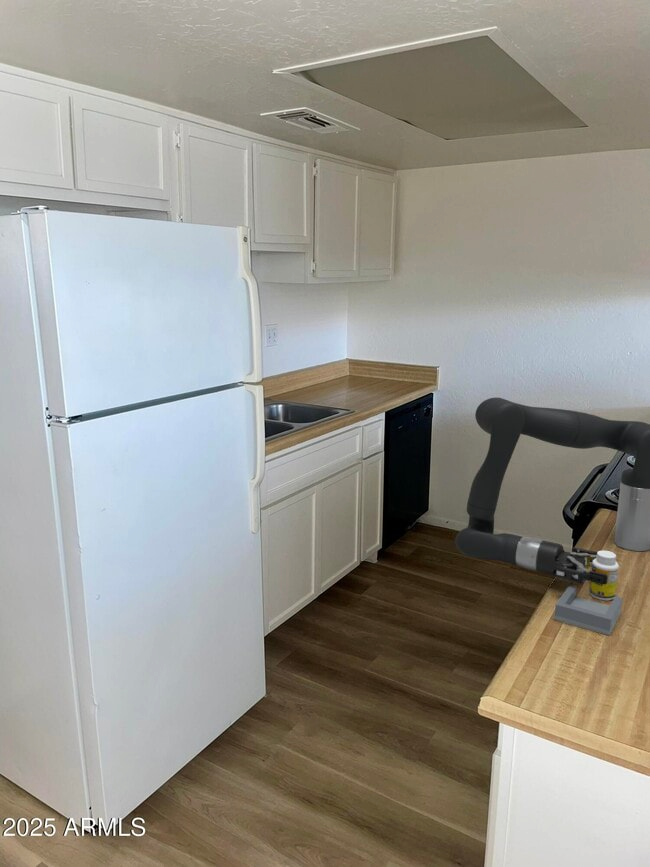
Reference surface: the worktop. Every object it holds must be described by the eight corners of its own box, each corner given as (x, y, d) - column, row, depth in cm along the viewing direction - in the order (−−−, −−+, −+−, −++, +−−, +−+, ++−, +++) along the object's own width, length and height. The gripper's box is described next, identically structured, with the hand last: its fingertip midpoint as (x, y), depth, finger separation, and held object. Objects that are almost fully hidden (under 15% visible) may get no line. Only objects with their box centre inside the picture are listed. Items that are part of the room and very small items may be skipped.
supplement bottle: (583, 591, 151) (587, 550, 149) (603, 588, 153) (608, 547, 150) (600, 603, 146) (604, 560, 144) (620, 599, 148) (625, 557, 145)
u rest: (568, 598, 148) (569, 584, 147) (620, 613, 142) (622, 598, 141) (554, 619, 139) (555, 604, 138) (609, 635, 133) (611, 619, 132)
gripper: (530, 551, 150) (606, 568, 141) (549, 531, 161) (620, 546, 152) (528, 581, 151) (602, 600, 142) (547, 559, 163) (617, 576, 154)
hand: (611, 572), depth 147 cm, fingers open, 8 cm apart
